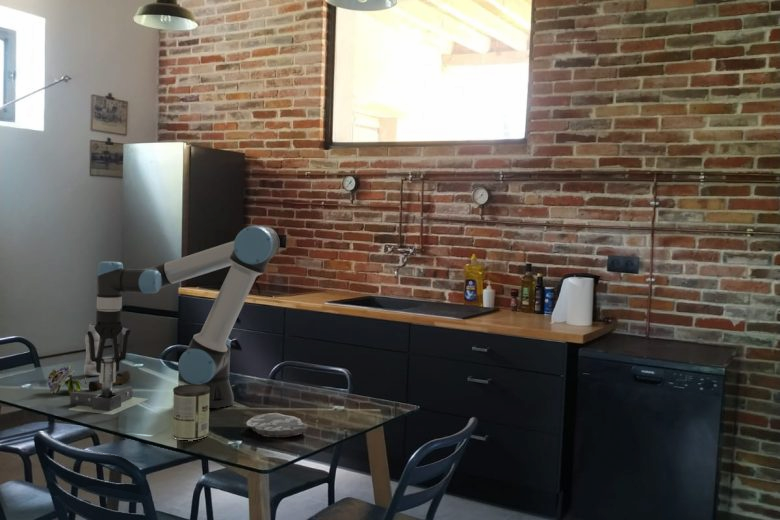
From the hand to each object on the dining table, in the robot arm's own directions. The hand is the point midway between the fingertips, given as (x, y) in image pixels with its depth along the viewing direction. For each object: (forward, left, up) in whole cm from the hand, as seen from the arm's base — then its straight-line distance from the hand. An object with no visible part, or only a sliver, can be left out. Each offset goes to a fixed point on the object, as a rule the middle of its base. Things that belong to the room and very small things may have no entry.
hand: (107, 381), depth 231 cm
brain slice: (-59, +3, -10) cm, 60 cm away
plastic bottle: (+33, -40, -9) cm, 53 cm away
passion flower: (+25, -13, -9) cm, 30 cm away
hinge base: (+5, 0, -9) cm, 10 cm away
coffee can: (-38, +16, -9) cm, 42 cm away
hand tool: (+17, -27, -9) cm, 34 cm away
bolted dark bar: (0, -8, -8) cm, 12 cm away
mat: (+2, -5, -9) cm, 10 cm away
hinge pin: (0, 0, -5) cm, 5 cm away
